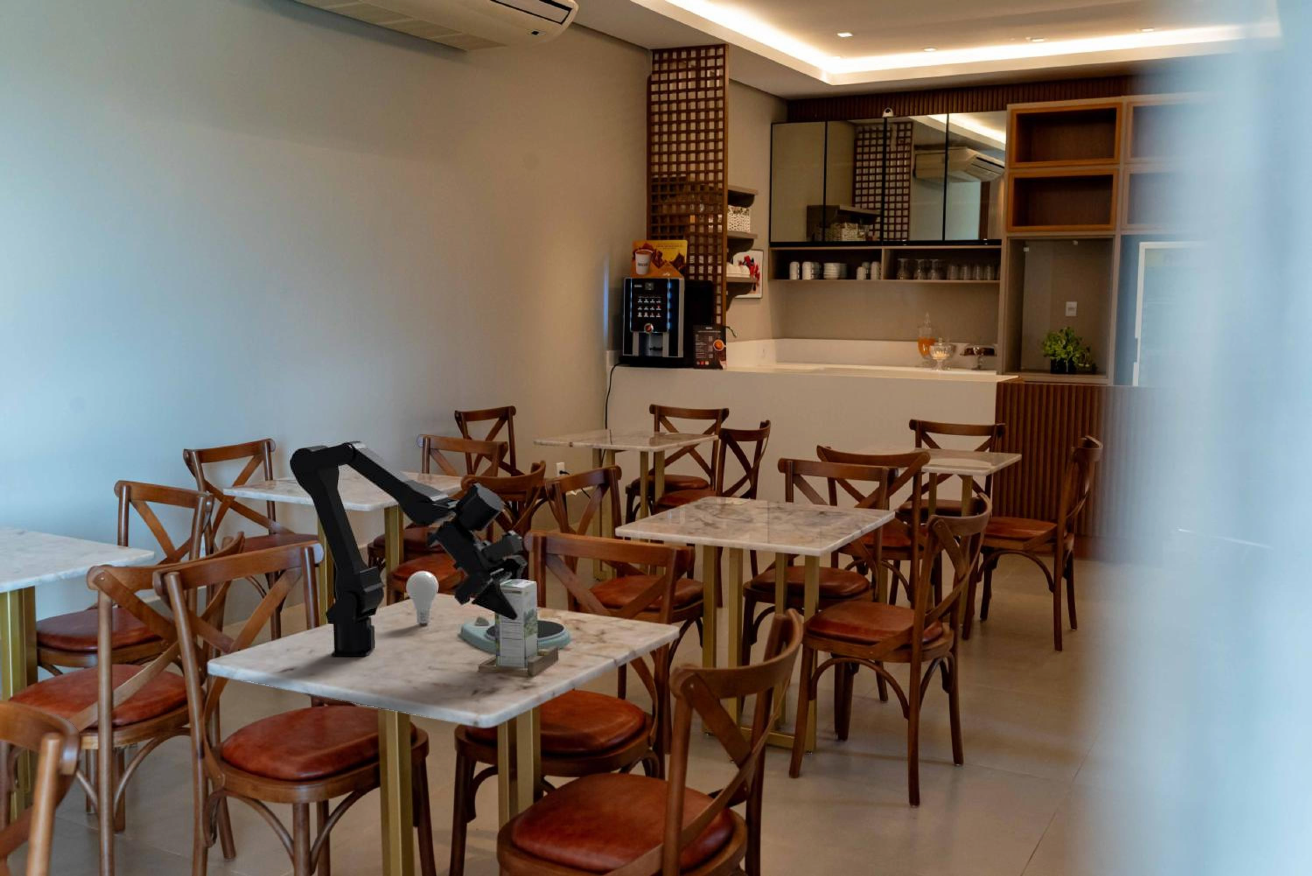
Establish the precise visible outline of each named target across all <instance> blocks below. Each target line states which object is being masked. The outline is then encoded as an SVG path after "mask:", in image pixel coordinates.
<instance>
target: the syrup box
mask: <svg viewBox="0 0 1312 876" xmlns="http://www.w3.org/2000/svg"><path fill="white" fill-rule="evenodd" d="M537 584H538V583H537V582H536V581H533V580H529V579H528V580H527V579H521V580H520V579H514V580H507V581H505V582H503V583H501V584H500V590H501V592H502V593H503V595H504V596H505V597H506V599H507V600H508V602H509V603H510V605H511V606H512V607H513V609H514V610H515V612H516V614H517V615H518V617H517V618H516V619H515V620H511V619H509V618H507V617H505V616H502V615H500V614H498V613H496V612H494V620H495V653H494V654H495V655H496V664H495V666H503V667H515V668H527V662H528V661H529V660H531V659H532V658H534V657H536V656H537V655H538V626H537V625H538V624H537V620H538V588H537Z"/></svg>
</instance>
